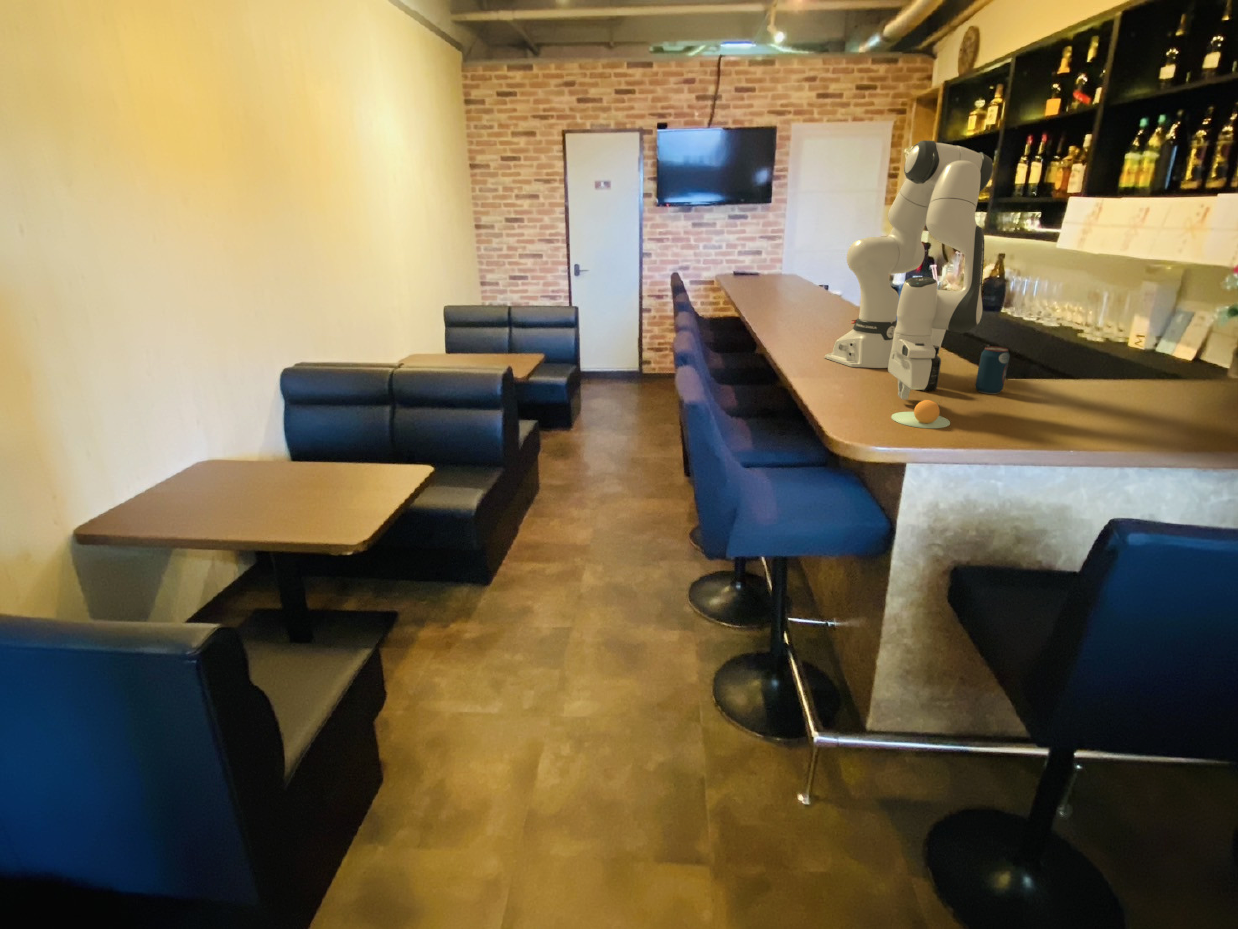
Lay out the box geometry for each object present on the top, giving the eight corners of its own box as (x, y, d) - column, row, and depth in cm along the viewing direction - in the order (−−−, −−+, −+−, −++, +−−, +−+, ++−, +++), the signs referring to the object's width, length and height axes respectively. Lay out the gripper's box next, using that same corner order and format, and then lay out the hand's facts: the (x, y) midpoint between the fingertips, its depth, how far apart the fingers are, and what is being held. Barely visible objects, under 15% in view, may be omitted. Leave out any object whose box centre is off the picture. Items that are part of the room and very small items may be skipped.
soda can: (1007, 394, 189) (1016, 351, 184) (981, 394, 189) (989, 350, 185) (994, 388, 195) (1003, 345, 191) (969, 388, 195) (977, 345, 191)
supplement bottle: (932, 386, 197) (939, 344, 193) (940, 392, 191) (947, 348, 187) (907, 385, 198) (913, 343, 194) (914, 391, 192) (921, 348, 187)
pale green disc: (879, 417, 168) (879, 416, 168) (914, 409, 175) (914, 408, 175) (926, 431, 158) (926, 430, 158) (961, 423, 164) (961, 422, 164)
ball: (906, 417, 166) (913, 401, 162) (922, 408, 168) (930, 391, 163) (923, 431, 163) (931, 415, 159) (940, 422, 165) (948, 406, 160)
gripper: (886, 336, 184) (878, 387, 189) (911, 352, 165) (902, 408, 170) (910, 337, 183) (902, 388, 188) (938, 352, 164) (929, 409, 169)
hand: (902, 398), depth 179 cm, fingers closed
